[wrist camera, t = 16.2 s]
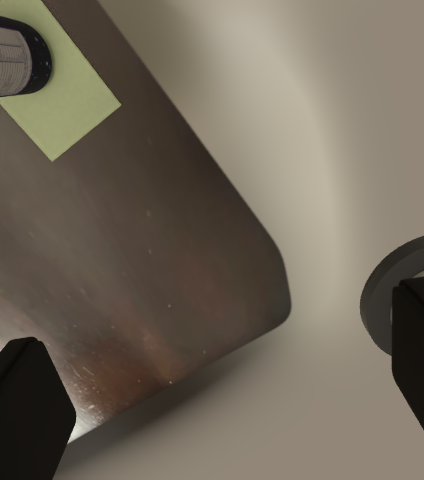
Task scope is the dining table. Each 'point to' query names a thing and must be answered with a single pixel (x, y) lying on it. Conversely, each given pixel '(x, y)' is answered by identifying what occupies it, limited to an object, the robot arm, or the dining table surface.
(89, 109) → the side mat
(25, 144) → the dining table surface
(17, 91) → the beverage can
